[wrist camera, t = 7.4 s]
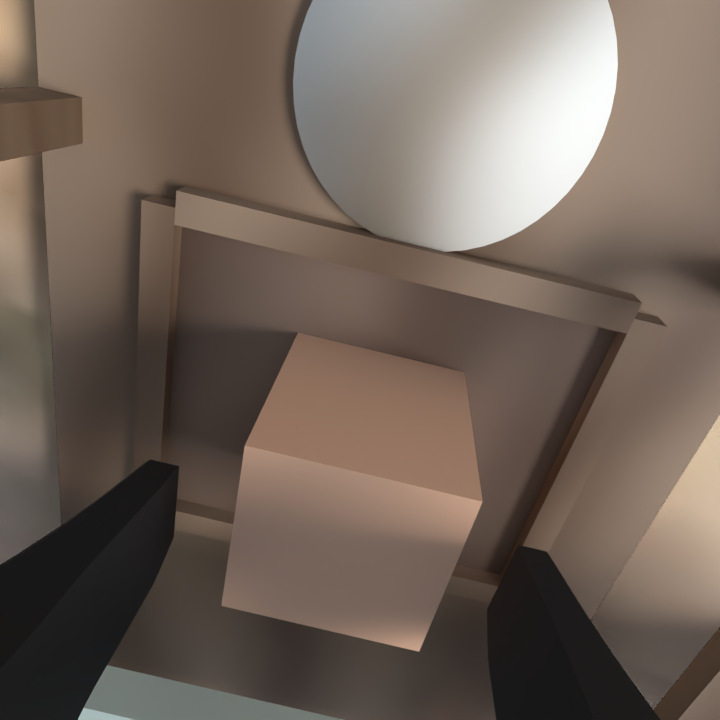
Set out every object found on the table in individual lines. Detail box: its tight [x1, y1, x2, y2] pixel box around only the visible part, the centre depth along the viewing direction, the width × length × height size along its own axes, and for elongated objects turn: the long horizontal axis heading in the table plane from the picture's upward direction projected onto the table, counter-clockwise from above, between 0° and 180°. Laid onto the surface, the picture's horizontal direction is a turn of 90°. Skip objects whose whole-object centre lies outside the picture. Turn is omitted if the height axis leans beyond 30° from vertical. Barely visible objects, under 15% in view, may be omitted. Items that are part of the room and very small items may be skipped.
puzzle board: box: [0, 0, 720, 720], centre depth 15 cm, size 18×30×6 cm, turn 168°
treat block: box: [221, 333, 483, 652], centre depth 14 cm, size 4×4×5 cm
